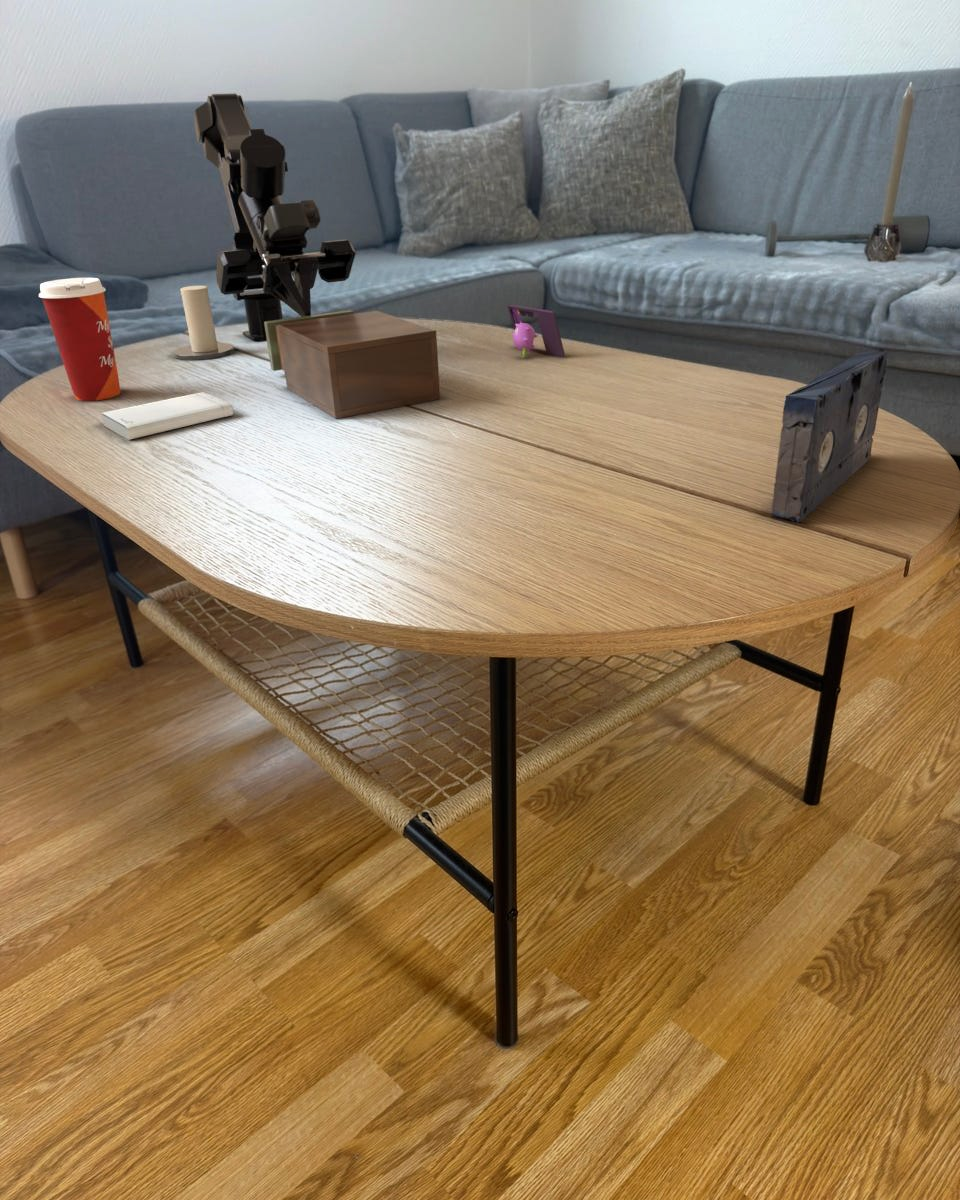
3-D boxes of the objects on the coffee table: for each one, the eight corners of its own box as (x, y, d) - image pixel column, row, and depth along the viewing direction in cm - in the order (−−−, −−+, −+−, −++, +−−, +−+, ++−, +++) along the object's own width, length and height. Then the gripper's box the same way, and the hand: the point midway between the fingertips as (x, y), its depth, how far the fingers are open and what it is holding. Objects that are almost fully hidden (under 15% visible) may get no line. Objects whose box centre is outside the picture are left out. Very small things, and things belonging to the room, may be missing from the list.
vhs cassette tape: (843, 454, 83) (861, 348, 78) (875, 459, 81) (896, 351, 76) (763, 516, 71) (778, 394, 66) (798, 524, 69) (817, 400, 64)
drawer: (261, 363, 121) (254, 317, 118) (344, 350, 126) (339, 305, 123) (311, 393, 106) (304, 341, 103) (403, 377, 111) (399, 327, 108)
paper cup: (135, 396, 111) (108, 281, 105) (71, 406, 108) (40, 288, 101) (122, 384, 117) (96, 274, 111) (61, 393, 114) (31, 281, 107)
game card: (557, 308, 118) (512, 301, 124) (532, 327, 116) (487, 319, 122) (568, 353, 122) (524, 344, 128) (544, 372, 120) (500, 362, 126)
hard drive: (126, 426, 94) (231, 402, 101) (99, 412, 100) (201, 389, 106) (130, 441, 95) (234, 416, 102) (103, 426, 100) (203, 403, 107)
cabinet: (287, 388, 112) (277, 324, 108) (382, 372, 118) (377, 310, 114) (335, 418, 99) (327, 347, 95) (440, 398, 105) (436, 330, 101)
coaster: (167, 352, 134) (166, 348, 134) (225, 343, 138) (224, 340, 138) (181, 362, 127) (180, 358, 127) (241, 354, 131) (241, 349, 131)
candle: (189, 349, 132) (177, 287, 128) (214, 345, 134) (203, 284, 130) (195, 353, 130) (183, 290, 125) (221, 350, 131) (210, 287, 127)
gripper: (205, 183, 110) (245, 283, 107) (342, 175, 118) (384, 268, 115) (201, 246, 120) (238, 340, 116) (328, 234, 128) (366, 322, 124)
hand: (307, 316), depth 118 cm, fingers closed, pressing on drawer
